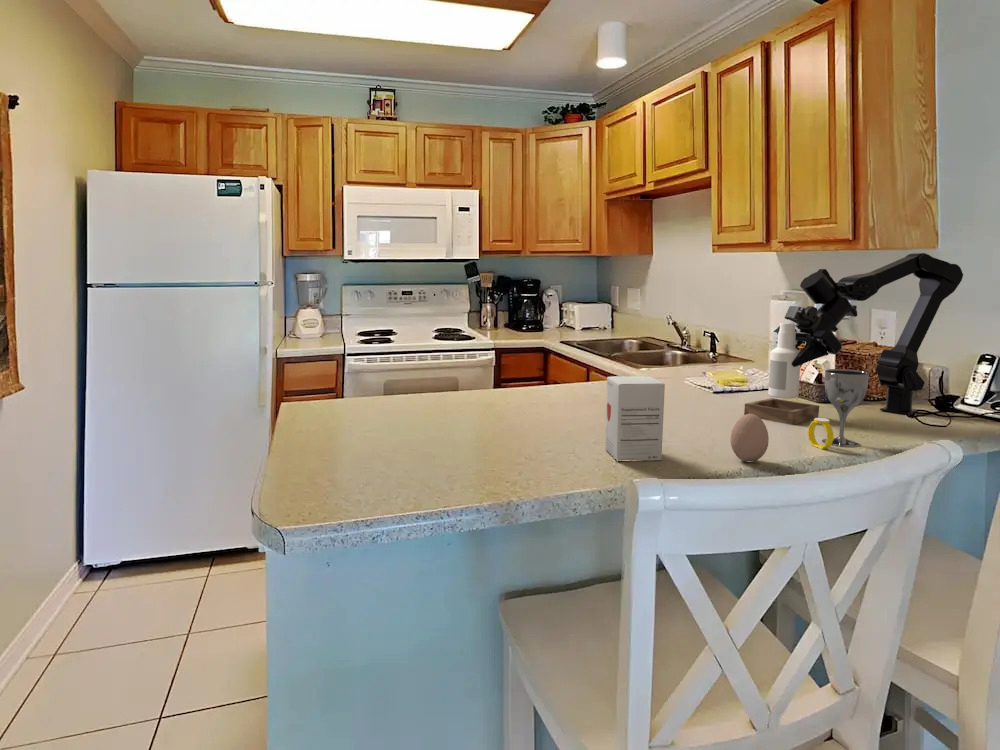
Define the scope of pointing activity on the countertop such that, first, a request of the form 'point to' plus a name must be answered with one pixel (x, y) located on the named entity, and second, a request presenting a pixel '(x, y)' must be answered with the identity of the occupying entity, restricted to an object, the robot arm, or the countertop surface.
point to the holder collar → (782, 410)
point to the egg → (749, 438)
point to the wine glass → (845, 397)
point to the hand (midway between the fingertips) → (783, 363)
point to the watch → (828, 430)
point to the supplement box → (634, 417)
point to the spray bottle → (784, 365)
